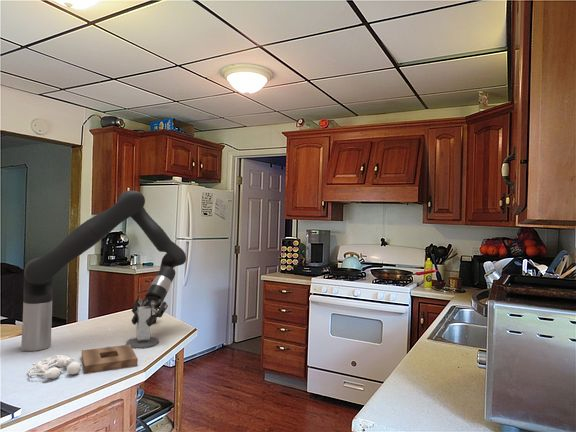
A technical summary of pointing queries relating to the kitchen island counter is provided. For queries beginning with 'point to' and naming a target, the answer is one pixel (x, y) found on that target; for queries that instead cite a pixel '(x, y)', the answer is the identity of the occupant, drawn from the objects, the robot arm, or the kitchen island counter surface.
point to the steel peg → (143, 323)
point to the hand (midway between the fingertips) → (141, 324)
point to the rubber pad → (143, 343)
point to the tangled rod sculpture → (55, 372)
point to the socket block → (108, 358)
